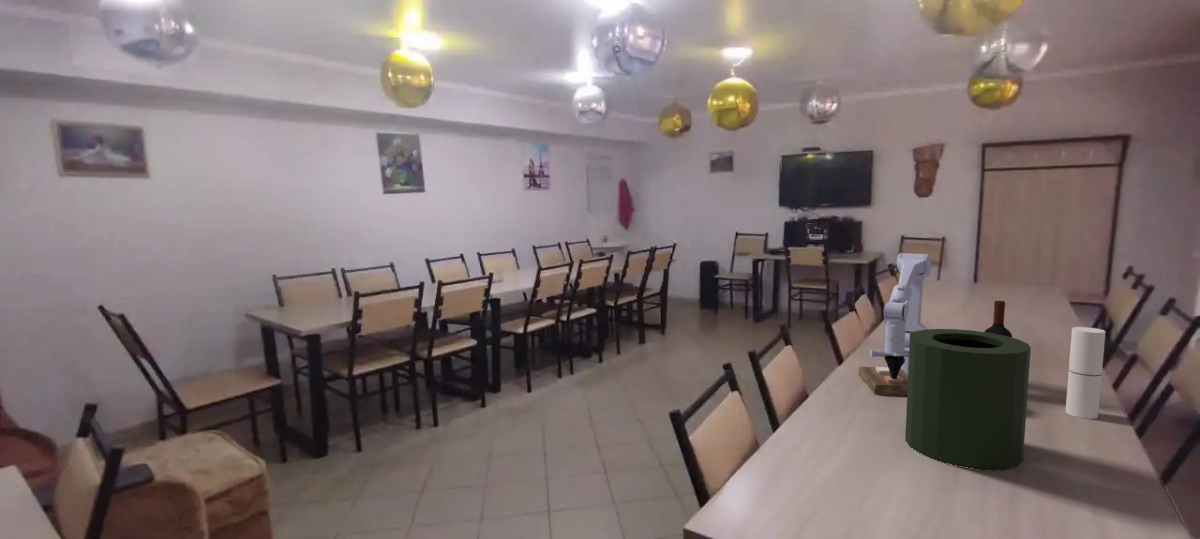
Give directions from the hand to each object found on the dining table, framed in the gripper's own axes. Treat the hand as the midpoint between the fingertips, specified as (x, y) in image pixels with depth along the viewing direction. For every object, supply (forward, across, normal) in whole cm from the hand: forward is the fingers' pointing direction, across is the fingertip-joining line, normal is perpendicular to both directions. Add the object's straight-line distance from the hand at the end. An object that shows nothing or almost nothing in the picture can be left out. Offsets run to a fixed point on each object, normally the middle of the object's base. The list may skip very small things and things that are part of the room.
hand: (893, 378), depth 183 cm
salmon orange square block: (+3, 0, 0) cm, 3 cm away
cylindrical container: (+4, +46, -15) cm, 49 cm away
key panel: (+4, 0, +5) cm, 7 cm away
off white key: (+3, 0, +10) cm, 10 cm away
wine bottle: (+4, +31, +2) cm, 31 cm away
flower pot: (+4, +3, -43) cm, 43 cm away
